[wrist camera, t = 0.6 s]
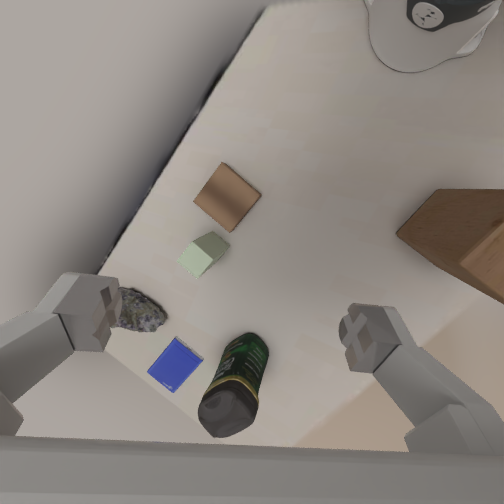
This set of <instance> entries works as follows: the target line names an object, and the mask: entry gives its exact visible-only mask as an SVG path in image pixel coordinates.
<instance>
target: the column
mask: <svg viewBox="0 0 504 504" xmlns="http://www.w3.org/2000/svg"><path fill="white" fill-rule="evenodd" d="M229 246H230V245H229V244H228V243H226V242H225V241H224V240H223V239H222V238H220V237H219V236H218V235H217V234H216V233H215V232H213V231H212V232H210V233H208V234H206V235H204V236H202V237H200V238H198V239H196V240H194V241H192V242H191V243H190V245H189V246H188V247H187V249H186V250H185V251H184V253H183V254H182V255H181V257H180V258H179V259H178V260H177V262H178V263H179V264H180V265H181V266H183V267H184V268H185V269H186V270H187V271H189V272H190V273H191V274H192V275H193V276H194V277H196V278H197V279H198V278H199V277H200V276H201V275H202V274H204V273H205V272H206V271H207V270H208V269H209V268H210V267H211V266H212V265H214V264H215V263H216V262H217V261H218V260H219V258H220V257H221V256H222V255H223V253H224V252H225V251H226V250H227V249H228V247H229Z"/></svg>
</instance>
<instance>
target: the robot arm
mask: <svg viewBox="0 0 504 504" xmlns="http://www.w3.org/2000/svg"><path fill="white" fill-rule="evenodd" d="M364 2H365V4H366V7H367V9H368V12H369V36H370V41H371V45H372V47H373V50H374V51H375V53H376V55H377V56H378V58H379V59H380V60H381V61H382V62H383V63H384V64H386V65H387V66H389V67H390V68H392V69H395V70H397V71H401V72H419V71H424V70H427V69H430V68H432V67H434V66H436V65H438V64H440V63H442V62H443V61H445V60H447V59H450V58H457V57H463V56H467V55H469V54H471V53H472V52H473V51H474V50H475V49H476V48H477V47H478V45H479V43H480V41H481V39H482V37H483V35H484V33H485V31H486V29H487V27H488V25H489V23H490V22H491V21H492V20H493V19H494V18H495V17H496V15H497V14H498V13H499V9H498V8H499V6H500V4H501V2H502V0H364ZM119 286H120V285H119V281H118V278H115V277H107V276H99V275H92V274H82V273H74V272H65V273H64V274H62V275H61V276H60V278H59V279H58V280H57V281H56V283H55V284H54V285H53V286H52V288H51V289H50V290H49V291H48V293H47V294H46V295H45V296H44V298H43V299H42V300H41V301H40V303H39V304H38V305H37V306H36V308H35V309H34V310H33V311H32V312H29V311H27V312H25V313H23V314H21V315H19V316H17V317H15V318H13V319H11V320H9V321H7V322H6V323H4V324H2V325H0V504H504V422H503V421H502V419H501V418H500V416H499V415H498V413H497V412H496V410H495V409H494V407H493V406H492V405H491V404H490V403H488V402H487V401H486V400H485V399H483V398H482V397H481V396H480V395H479V394H477V393H476V392H475V391H474V390H472V389H471V388H470V387H469V386H468V385H467V384H465V383H464V382H463V381H462V380H461V379H459V378H458V377H457V376H456V375H455V374H453V373H452V372H451V371H450V370H449V369H447V368H446V367H445V366H444V365H443V364H441V363H440V362H439V361H438V360H436V359H435V358H434V357H433V356H432V355H430V354H429V353H428V352H427V351H426V350H424V349H423V348H422V347H417V345H416V343H415V341H414V339H413V338H412V336H411V334H410V332H409V331H408V329H407V327H406V325H405V323H404V322H403V320H402V318H401V316H400V314H399V313H398V311H397V310H396V309H395V308H394V307H388V306H378V305H369V304H359V303H353V304H351V305H350V306H349V308H348V312H349V314H348V315H346V316H344V317H343V318H342V320H341V322H340V325H339V337H340V340H341V343H342V344H343V345H344V346H345V347H346V348H347V349H346V352H345V356H346V359H347V363H348V366H349V369H350V371H354V372H364V373H373V376H374V377H375V378H376V380H377V381H378V382H379V383H380V384H381V386H382V387H383V388H384V389H385V391H386V392H387V393H388V394H389V395H390V397H391V398H392V399H393V400H394V402H395V403H396V404H397V405H398V406H399V408H400V409H401V410H402V411H403V412H404V414H405V415H406V416H407V417H408V419H409V420H410V421H411V422H412V423H413V425H414V426H415V428H414V429H412V430H411V431H409V432H408V433H406V435H405V437H404V439H405V442H406V444H407V447H408V449H409V452H394V451H370V450H345V449H320V448H297V447H273V446H248V445H224V444H222V445H221V444H198V443H175V442H173V443H172V442H147V441H125V440H99V439H98V440H97V439H76V438H50V437H26V436H15V434H16V433H17V431H18V429H19V427H20V426H21V424H22V422H23V420H24V419H23V416H22V414H21V413H20V412H19V411H18V410H17V409H16V408H15V406H14V405H13V404H12V403H13V402H15V401H16V400H17V399H18V398H20V397H21V396H22V395H23V394H25V393H26V392H27V391H28V390H29V389H30V388H32V387H33V386H34V385H35V384H37V383H38V382H39V381H40V380H41V379H43V378H44V377H45V376H46V375H47V374H48V373H50V372H51V371H52V370H53V369H55V368H56V367H57V366H58V365H60V364H61V363H62V362H63V361H64V360H66V359H67V358H68V357H69V356H70V355H72V354H73V353H74V351H91V352H92V351H93V352H103V351H104V349H105V347H106V345H107V342H108V340H109V338H110V336H111V330H110V327H111V326H112V325H114V324H115V323H117V321H118V319H119V316H120V313H121V309H122V295H121V294H120V293H119V292H118V291H117V290H118V288H119Z"/></svg>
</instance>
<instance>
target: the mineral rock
mask: <svg viewBox="0 0 504 504" xmlns="http://www.w3.org/2000/svg"><path fill="white" fill-rule="evenodd" d="M117 291H118V292H119V293H120V294H121V295H122V309H121V313H120V316H119V319H118V321H117V323H115V324H114V325H112V326H111V328H115V327H122V328H125V329H129V330H132V331H138V332H155V331H156V330H157V328H158V327H159V326H160V325H163V324H164V322H165V316H164V314H163V313H162V312H161V311H160V308H158V307H157V306H156V305H154V304H153V303H152V302H151V301H149V300H148V299H147V298H144V297H143V296H141V294H140V293H136V292H134V291H133V290H131V289H124V288H118V290H117Z"/></svg>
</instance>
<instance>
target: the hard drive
mask: <svg viewBox="0 0 504 504" xmlns="http://www.w3.org/2000/svg"><path fill="white" fill-rule="evenodd" d="M203 360H204V358H203V357H202V356H200V355H199V354H198V353H197V352H195V351H194V350H193V349H192V348H190V347H189V346H188V345H187V344H185V343H184V342H183V341H182V340H181V339H179V338H178V337H177V336H176V337H175V338H174V340H173V341H172V342H171V343H170V344H169V346H168V347H167V348H166V349H165V350H164V352H163V353H162V354H161V355H160V356H159V358H158V359H157V360H156V361H155V363H154V364H153V365H152V366H151V367H150V369H149V370H148V371H147V372H148V374H150V375H151V376H152V377H153V378H155V379H156V380H157V381H158V382H160V383H161V384H162V385H163V386H165V387H166V388H167V389H168V390H170V391H171V392H172V393H174V392H175V391H176V390H177V389H178V388H179V387H180V385H181V384H182V383H183V382H184V381H185V380H186V379H187V378H188V377H189V375H190V374H191V373H192V372H193V371H194V370H195V369H196V368H197V367H198V366H199V364H200V363H201V362H202V361H203Z"/></svg>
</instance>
